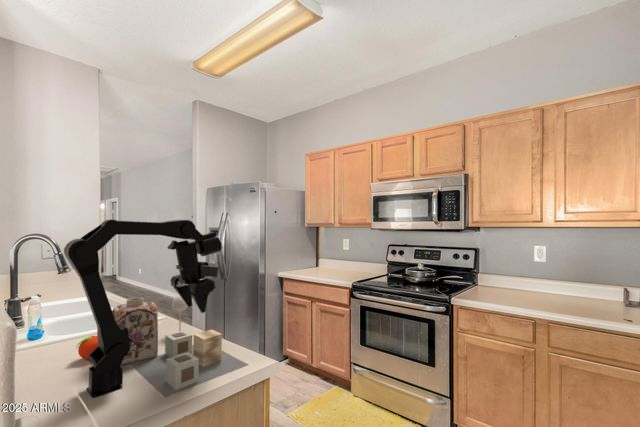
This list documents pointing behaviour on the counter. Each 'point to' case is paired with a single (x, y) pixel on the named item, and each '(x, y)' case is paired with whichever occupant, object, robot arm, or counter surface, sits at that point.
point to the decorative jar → (139, 328)
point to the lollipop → (179, 307)
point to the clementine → (87, 346)
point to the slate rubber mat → (156, 372)
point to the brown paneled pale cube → (178, 344)
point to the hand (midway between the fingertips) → (196, 309)
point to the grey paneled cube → (182, 370)
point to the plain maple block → (208, 347)
